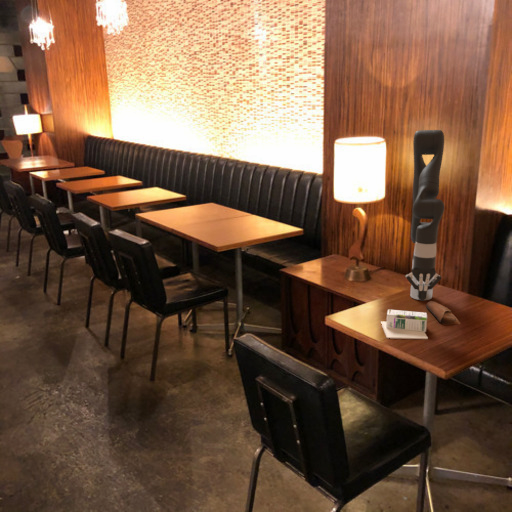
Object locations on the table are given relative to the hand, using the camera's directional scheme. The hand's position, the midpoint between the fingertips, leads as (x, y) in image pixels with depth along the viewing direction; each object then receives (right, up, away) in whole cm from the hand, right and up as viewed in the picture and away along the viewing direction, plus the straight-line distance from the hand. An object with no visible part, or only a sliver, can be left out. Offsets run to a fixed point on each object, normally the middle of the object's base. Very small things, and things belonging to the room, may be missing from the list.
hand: (421, 299), depth 198 cm
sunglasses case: (+14, -9, +18) cm, 24 cm away
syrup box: (+3, -9, +3) cm, 10 cm away
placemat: (-6, -12, +4) cm, 14 cm away
